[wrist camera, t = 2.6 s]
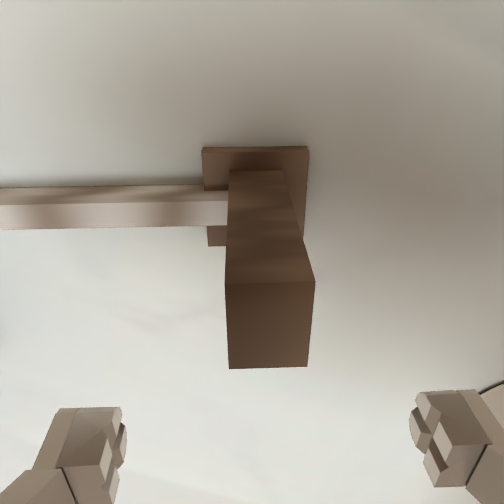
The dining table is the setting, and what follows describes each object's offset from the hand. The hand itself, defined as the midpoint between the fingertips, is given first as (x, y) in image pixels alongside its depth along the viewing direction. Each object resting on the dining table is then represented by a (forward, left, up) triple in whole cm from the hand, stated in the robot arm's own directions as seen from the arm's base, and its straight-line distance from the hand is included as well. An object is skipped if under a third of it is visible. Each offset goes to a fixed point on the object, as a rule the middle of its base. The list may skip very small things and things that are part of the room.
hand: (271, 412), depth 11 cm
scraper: (+9, 0, -16) cm, 18 cm away
